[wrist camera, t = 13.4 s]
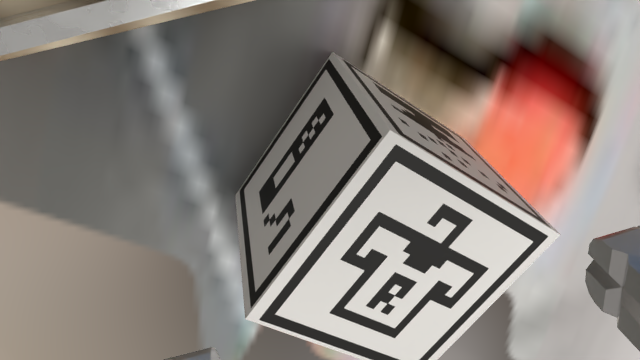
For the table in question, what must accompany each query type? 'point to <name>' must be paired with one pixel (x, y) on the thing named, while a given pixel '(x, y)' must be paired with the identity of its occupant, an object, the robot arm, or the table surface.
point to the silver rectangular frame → (77, 20)
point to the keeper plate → (6, 3)
